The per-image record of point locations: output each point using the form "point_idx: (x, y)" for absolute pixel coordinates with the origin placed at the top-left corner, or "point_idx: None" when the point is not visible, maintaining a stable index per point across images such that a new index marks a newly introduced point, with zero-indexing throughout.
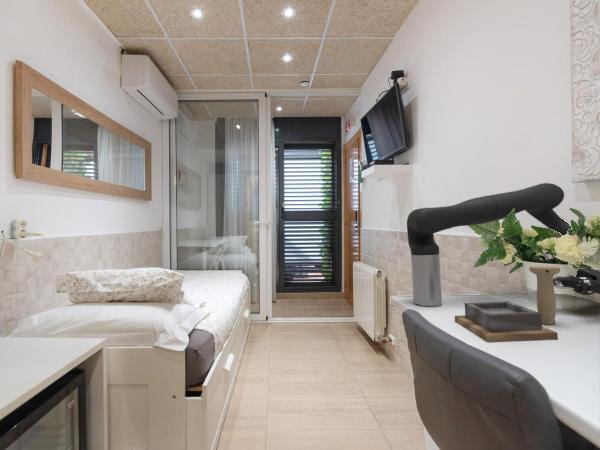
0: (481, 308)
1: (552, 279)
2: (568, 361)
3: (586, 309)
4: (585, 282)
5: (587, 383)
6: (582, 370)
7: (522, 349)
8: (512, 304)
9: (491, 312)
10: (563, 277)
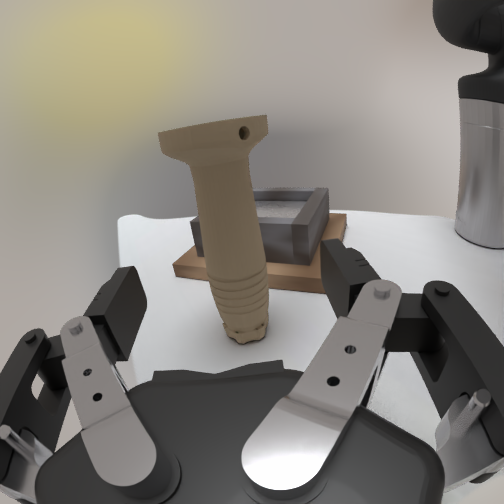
0: (278, 190)
1: (193, 179)
2: (142, 244)
3: None
4: (93, 333)
5: (122, 232)
6: (128, 241)
7: None
8: (274, 218)
9: (275, 206)
10: (313, 359)
